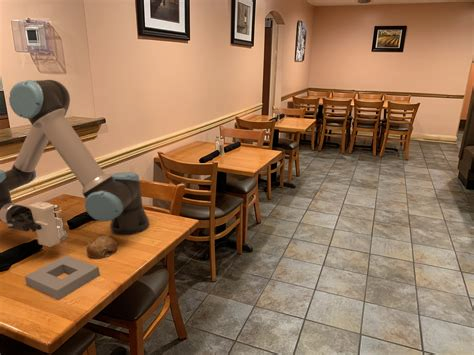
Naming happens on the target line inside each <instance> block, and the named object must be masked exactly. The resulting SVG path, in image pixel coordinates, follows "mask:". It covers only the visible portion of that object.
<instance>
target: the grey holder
mask: <svg viewBox="0 0 474 355" xmlns="http://www.w3.org/2000/svg"><path fill="white" fill-rule="evenodd" d="M63 274H68V275H66V276H64V277H63V278H59V277H58V276H60V275H63ZM99 276H101V275H100V269H99V266H97V265H95V264H92V263H89V262H86V261H83V260H80V259H77V258H74V257H72V256H69V255H66V254H65V255H64V256H62V257H60V258H58V259H56V260H54V261H52V262H50V263H48V264H46V265H45V266H43V267H40V268H38V269H36V270H34V271H32V272H30V273H28V274H26V275H24V279H25V284H26V285H27V287H30V288H32V289H35V290H37V291H39V292H42V293H44V294H45V295H49V296H50V297H52V298H55V299H56V300H61V299H62V298H64V297H66V296H68V295H69V294H70V293H73V292H74V291H76V290H78V289H80V287H83V286H84V285H86V284H88V283H89V282H91V281H92V280H94V279H96V278H98V277H99Z"/></svg>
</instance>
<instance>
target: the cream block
mask: <svg viewBox="0 0 474 355" xmlns="http://www.w3.org/2000/svg"><path fill="white" fill-rule="evenodd" d="M27 207H28V208H29V209H30V210H31V211H32V215H33V220H34V223H35V221H39V222H43V223H47V224H49V229H50V232H45V231H41V230H36V231H35V232H36V235H37V241H38V244H39V245H42V246H44V247H45V246H46V247H49V248H51V247H53V246H55V245H57V244H59V243H61V238H60V234H59V230H58V226H57V225H56V220H55V215H54V208H56V205H55V204H51V203H48V202H46V201H44V202H43V201H36V202H34V203H31V204H28V205H27Z"/></svg>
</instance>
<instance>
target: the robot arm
mask: <svg viewBox="0 0 474 355" xmlns="http://www.w3.org/2000/svg"><path fill="white" fill-rule="evenodd" d="M8 100H9V101H8V102H9V106H10V108H11V110H12V111H13V113H14V114H15V115H17V116H18V117H20V118H23V119H28V121H29V122H30V124H31V125H30V126H31V127H30V128H29V131H28V133H27V135H26V137H25V139H24V142H23V143H22V146H21V148H20V150H19V152H18V155H17V156H16V159H15V161H14V163H13V165H12V167H11V169H8V170H7V171H5V170H3V169H0V222H2V223H5V224H6V225H7V228H8V229H15V230H19V231H23V232H29V231H30V230H31V232H34V233H35V232H36V230H41V231H45V232H50V229H49V224H47V223H43V222H39V221H35V223H34V220H33V215H32V211H31V208H29V207H28V206H25V205H20V204H18V203H13V201H12V197H11V191H14V190H15V189H18V188H21V187H23V186H25V185H28V184H30V183H31V182H33V181H34V180H36V177H37V171H36V168H37V165H38V164H39V162H40V159H41V157H42V155H43V154H44V152H45V149H46V147H47V146H48V144H49V143H51V145H52V147H54V149H55V150H56V152H57V154H58V155H59V156H60V157H61V158H62V160H63V161H64V162H65V164H66V165H67V167H68V168H69V170H70V171H71V172H72V174H73V175H74V176H75V178H76V179H77V181H78V182H79V183H80V184H81V186H82V192H81V193H82V195H83V197H84V198H85V201H84V204H85V205H84V208H85V210H86V213H87V214H88V215H89V216H90V217H91V218H93V219H94V220H96V221H98V222H99V221H101V222H110V231H111V232H112V234H114V235H119V236H129V235H135V234H138V233H142V232H143V231H145V230H147V229H148V228H149V227H150V221H149V220H150V219H149V218H148V216H147V214H146V211H145V210H144V207H143V206H144V205H143V199H142V198H143V197H142V190H141V189H142V188H141V180H140V175H139V173H137V172H130V171H128V172H127V171H126V172H125V171H124V172H115V173H110V174H107V173H105V172H104V171H103V169H102V167H100V165H99V164H98V162H97V160H96V159H95V157H94V156H93V155H92V153H91V152H90V150H89V149H88V148H87V147H86V144H85V143H84V142H83V140H82V139H81V138H80V137H79V134H78V133H77V132H76V131H75V130H74V128H73V126H72V125H71V124H70V122H69V120H68V119H67V118H66V117H65V116H66V115H67V113H68V110H69V107H70V103H71V96H70V93H69V91H68V89H67V87H66V86H65V85H64V84H62V83H61V82H60V81H57V80H54V79H41V80H40V79H39V80H31V79H28V80H24V81H19V82H17V83H15V84H14V85H13V86H12V88H11V90H10V92H9V97H8ZM54 215H55V220H56V225H57V227H61V228H62V227H64V224H63V220H62V218H60V217H58V216H57V213H56V212H54Z"/></svg>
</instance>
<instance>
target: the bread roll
mask: <svg viewBox="0 0 474 355" xmlns="http://www.w3.org/2000/svg"><path fill="white" fill-rule="evenodd" d="M117 248H118V244H117V242H116V240H115V239H114V238H112V237H110V236H109V235H106V234H105V235H101V234H100V235H97V236H94V237H93V238H91V239H90V241H88V244H87V245H86V247H85V249H86V251H85V252H86V254H87V256H89V258H93V259H104V258H108V257H109V256H112V255H113V254H114V253H116V251H117V250H118V249H117Z"/></svg>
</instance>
